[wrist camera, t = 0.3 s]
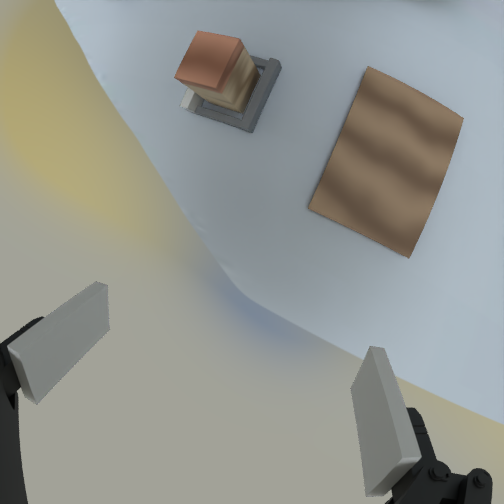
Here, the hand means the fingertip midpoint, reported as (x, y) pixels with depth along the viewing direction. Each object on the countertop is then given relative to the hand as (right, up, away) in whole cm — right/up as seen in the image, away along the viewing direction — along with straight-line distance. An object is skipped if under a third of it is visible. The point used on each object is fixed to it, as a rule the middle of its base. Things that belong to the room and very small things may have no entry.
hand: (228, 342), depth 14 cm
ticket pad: (-1, +26, +23) cm, 34 cm away
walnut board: (+18, +16, +20) cm, 31 cm away
